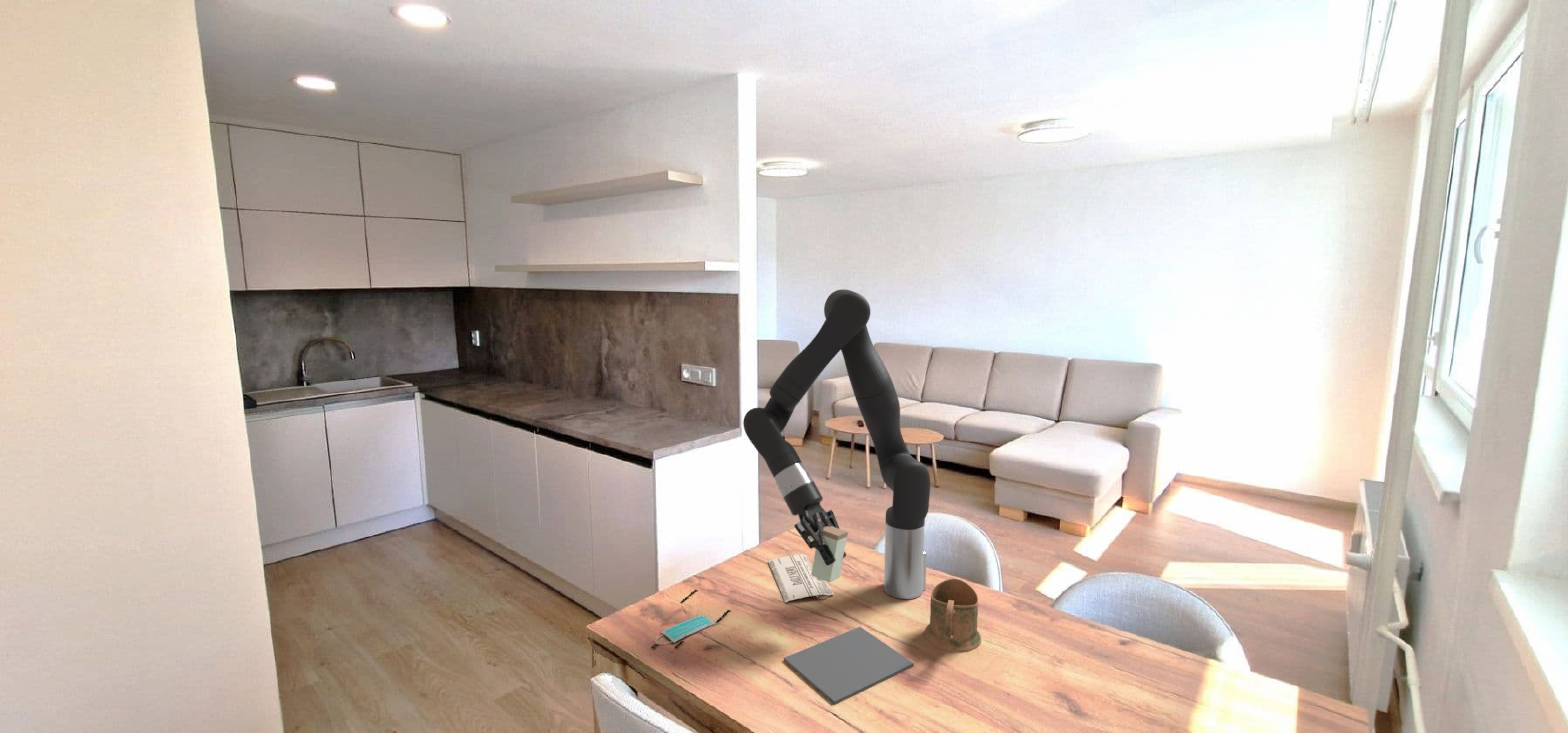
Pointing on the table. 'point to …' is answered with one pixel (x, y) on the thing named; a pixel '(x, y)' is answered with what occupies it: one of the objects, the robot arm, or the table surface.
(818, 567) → the block
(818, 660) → the mat
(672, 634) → the surgical mask
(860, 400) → the robot arm
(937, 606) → the mug
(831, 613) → the table surface
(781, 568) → the newspaper
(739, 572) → the table surface
